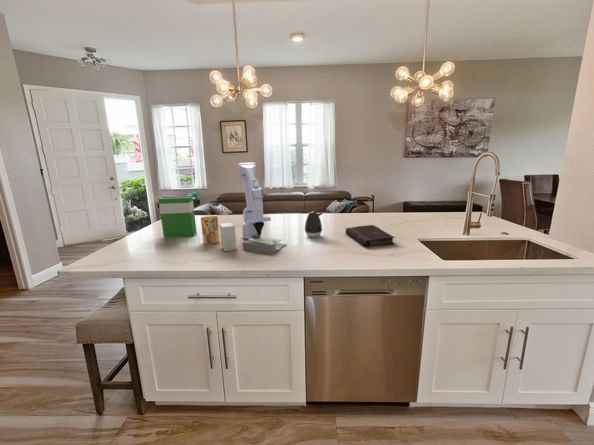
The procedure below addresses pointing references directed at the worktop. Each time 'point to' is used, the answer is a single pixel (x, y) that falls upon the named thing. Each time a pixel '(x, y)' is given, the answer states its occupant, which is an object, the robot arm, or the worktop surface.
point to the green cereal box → (177, 216)
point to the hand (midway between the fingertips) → (259, 235)
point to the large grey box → (262, 247)
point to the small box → (228, 236)
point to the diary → (370, 236)
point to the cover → (263, 239)
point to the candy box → (210, 229)
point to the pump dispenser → (313, 224)
